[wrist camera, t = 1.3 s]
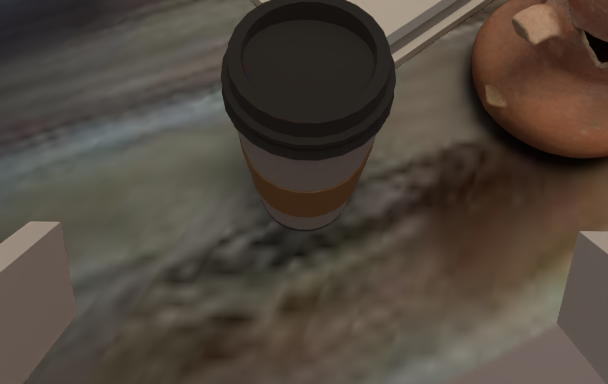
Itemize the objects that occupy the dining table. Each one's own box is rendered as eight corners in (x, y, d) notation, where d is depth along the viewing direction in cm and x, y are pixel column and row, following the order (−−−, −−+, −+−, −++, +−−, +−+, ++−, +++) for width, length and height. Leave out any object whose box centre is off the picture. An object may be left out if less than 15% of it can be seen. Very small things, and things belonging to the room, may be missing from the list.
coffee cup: (259, 135, 36) (236, -26, 23) (366, 149, 36) (409, -5, 22) (237, 236, 33) (193, 120, 19) (355, 254, 33) (397, 148, 19)
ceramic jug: (507, 206, 34) (644, 88, 21) (414, 57, 39) (478, -112, 26) (698, 129, 38) (917, -15, 25) (589, 0, 43) (722, -174, 30)
